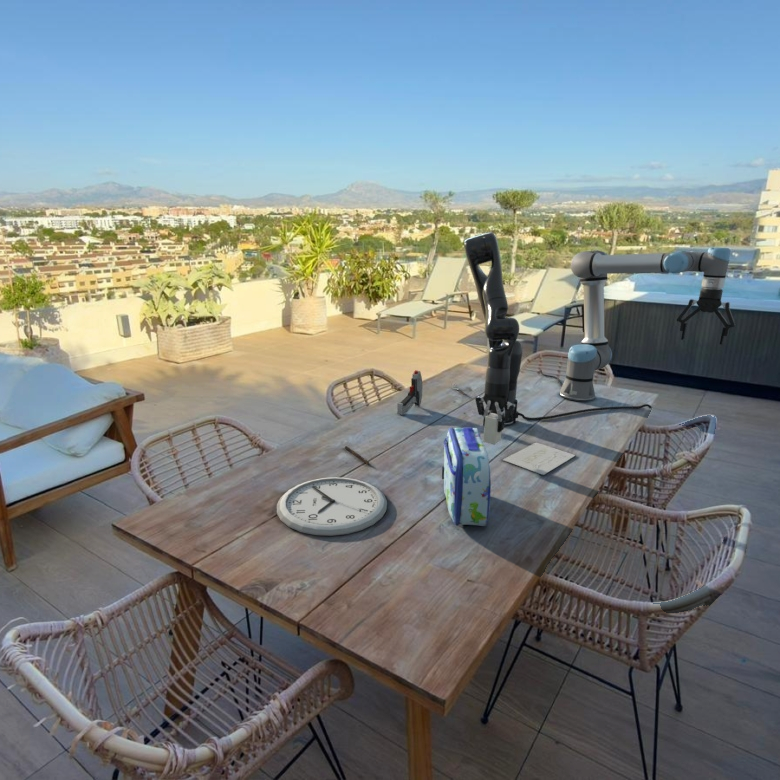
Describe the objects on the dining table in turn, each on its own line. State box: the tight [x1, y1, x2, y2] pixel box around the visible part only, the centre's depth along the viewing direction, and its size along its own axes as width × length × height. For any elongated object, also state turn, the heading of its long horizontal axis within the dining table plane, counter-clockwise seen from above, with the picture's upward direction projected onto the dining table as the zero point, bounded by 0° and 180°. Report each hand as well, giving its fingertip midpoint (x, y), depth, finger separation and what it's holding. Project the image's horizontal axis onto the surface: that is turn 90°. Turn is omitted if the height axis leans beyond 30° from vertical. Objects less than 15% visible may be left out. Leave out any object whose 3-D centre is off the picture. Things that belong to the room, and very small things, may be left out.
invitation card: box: [502, 442, 577, 476], centre depth 174 cm, size 21×1×15 cm
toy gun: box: [396, 369, 423, 416], centre depth 215 cm, size 2×16×15 cm
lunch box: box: [441, 426, 492, 527], centre depth 140 cm, size 26×11×21 cm, turn 179°
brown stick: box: [344, 445, 370, 465], centre depth 173 cm, size 15×1×1 cm, turn 34°
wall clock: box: [276, 476, 388, 537], centre depth 142 cm, size 30×2×30 cm
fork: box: [450, 382, 467, 397], centre depth 243 cm, size 3×16×2 cm, turn 15°
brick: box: [482, 413, 503, 445], centre depth 172 cm, size 4×5×9 cm
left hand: (493, 429), depth 172 cm, fingers closed on brick, 4 cm apart
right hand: (701, 341), depth 211 cm, fingers open, 13 cm apart
